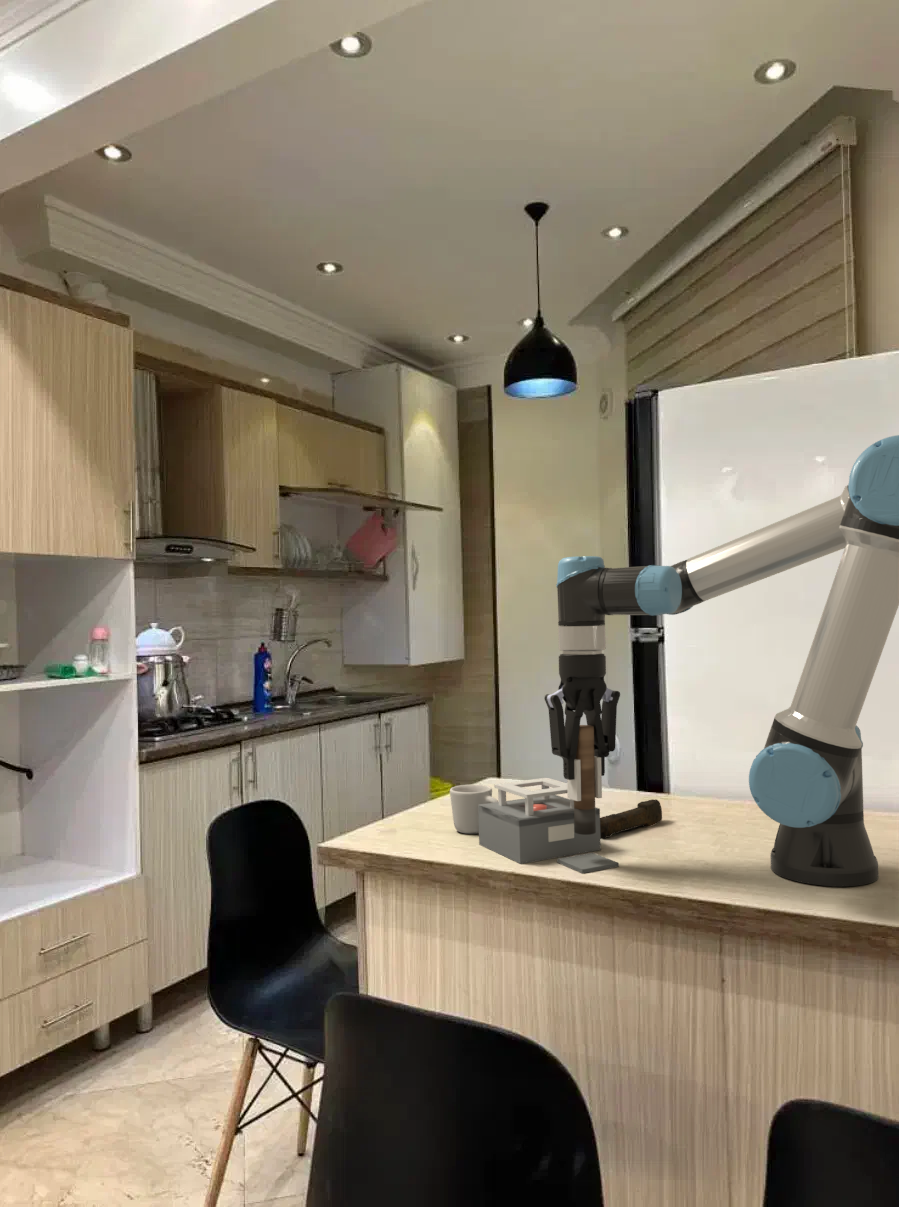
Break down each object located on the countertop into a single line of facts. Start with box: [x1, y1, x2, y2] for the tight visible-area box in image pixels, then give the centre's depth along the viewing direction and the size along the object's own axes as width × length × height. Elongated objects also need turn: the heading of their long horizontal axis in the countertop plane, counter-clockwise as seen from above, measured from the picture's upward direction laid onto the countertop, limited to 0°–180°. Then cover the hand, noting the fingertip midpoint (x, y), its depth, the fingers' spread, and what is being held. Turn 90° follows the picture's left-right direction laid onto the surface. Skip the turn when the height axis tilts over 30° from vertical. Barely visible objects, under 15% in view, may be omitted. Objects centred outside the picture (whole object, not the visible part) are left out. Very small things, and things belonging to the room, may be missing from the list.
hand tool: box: [600, 799, 663, 840], centre depth 163 cm, size 19×4×5 cm, turn 127°
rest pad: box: [556, 852, 620, 874], centre depth 141 cm, size 7×7×1 cm
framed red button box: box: [478, 777, 602, 865], centre depth 152 cm, size 14×16×11 cm
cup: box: [449, 784, 499, 835], centre depth 164 cm, size 11×8×8 cm
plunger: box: [533, 804, 547, 811], centre depth 152 cm, size 3×3×7 cm
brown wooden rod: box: [574, 724, 596, 835], centre depth 141 cm, size 3×3×17 cm
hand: (584, 797), depth 141 cm, fingers closed on brown wooden rod, 3 cm apart
